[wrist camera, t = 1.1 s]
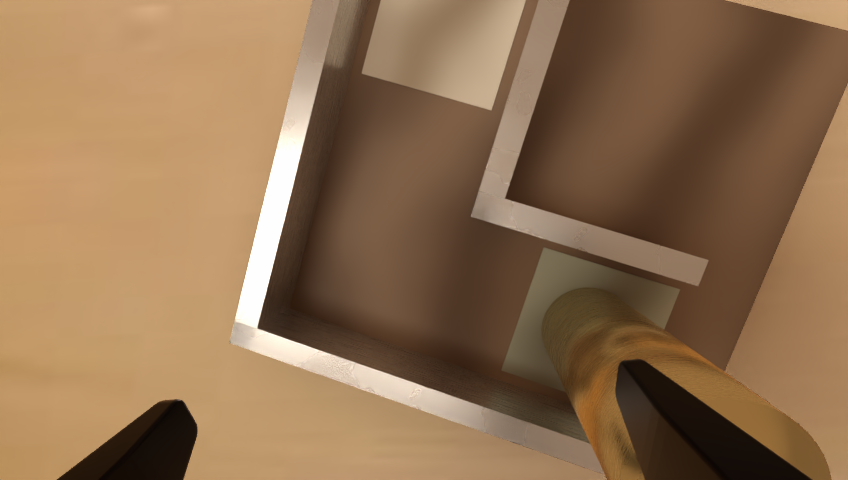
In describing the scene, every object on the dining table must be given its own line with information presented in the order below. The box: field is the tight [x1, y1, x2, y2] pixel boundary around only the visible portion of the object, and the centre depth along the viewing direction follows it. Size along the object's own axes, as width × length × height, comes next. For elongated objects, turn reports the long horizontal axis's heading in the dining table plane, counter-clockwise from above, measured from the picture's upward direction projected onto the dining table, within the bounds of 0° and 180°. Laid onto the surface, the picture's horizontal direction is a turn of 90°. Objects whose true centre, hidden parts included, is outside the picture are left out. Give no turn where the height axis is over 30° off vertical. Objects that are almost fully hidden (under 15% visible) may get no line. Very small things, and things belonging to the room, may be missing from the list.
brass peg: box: [541, 287, 831, 480], centre depth 13 cm, size 4×4×10 cm
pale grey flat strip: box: [289, 0, 848, 405], centre depth 19 cm, size 22×20×1 cm
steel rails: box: [230, 0, 709, 475], centre depth 17 cm, size 16×18×3 cm
